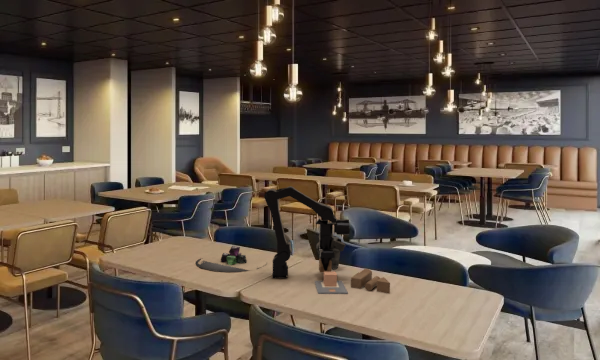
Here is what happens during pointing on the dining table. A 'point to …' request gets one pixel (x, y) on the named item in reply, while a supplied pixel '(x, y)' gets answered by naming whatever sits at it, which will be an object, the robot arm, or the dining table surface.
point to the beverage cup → (337, 255)
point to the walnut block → (323, 267)
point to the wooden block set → (370, 281)
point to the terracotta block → (330, 278)
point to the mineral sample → (229, 258)
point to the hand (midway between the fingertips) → (325, 268)
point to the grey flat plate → (330, 288)
